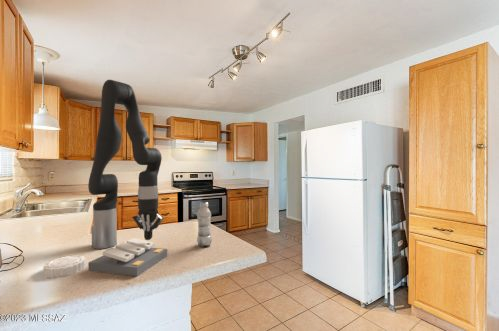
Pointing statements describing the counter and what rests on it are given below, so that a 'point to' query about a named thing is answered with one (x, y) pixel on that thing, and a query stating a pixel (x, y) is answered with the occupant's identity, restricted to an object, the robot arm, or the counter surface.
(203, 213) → the plastic bottle
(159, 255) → the switch console
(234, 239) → the counter surface
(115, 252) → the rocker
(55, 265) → the mooncake
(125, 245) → the plate
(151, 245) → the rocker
